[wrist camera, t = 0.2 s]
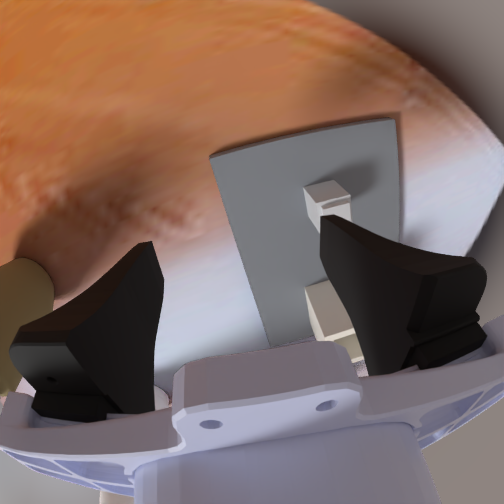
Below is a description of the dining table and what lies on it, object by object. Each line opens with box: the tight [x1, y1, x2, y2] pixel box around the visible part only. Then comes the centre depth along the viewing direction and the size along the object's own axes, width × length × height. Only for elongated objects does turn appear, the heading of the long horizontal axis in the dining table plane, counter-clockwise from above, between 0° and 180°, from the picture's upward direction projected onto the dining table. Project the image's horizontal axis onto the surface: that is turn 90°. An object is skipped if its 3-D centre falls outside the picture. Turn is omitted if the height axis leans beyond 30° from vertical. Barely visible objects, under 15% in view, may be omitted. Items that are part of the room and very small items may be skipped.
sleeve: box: [304, 280, 364, 363], centre depth 24 cm, size 5×5×6 cm
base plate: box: [209, 117, 400, 347], centre depth 23 cm, size 20×14×4 cm
